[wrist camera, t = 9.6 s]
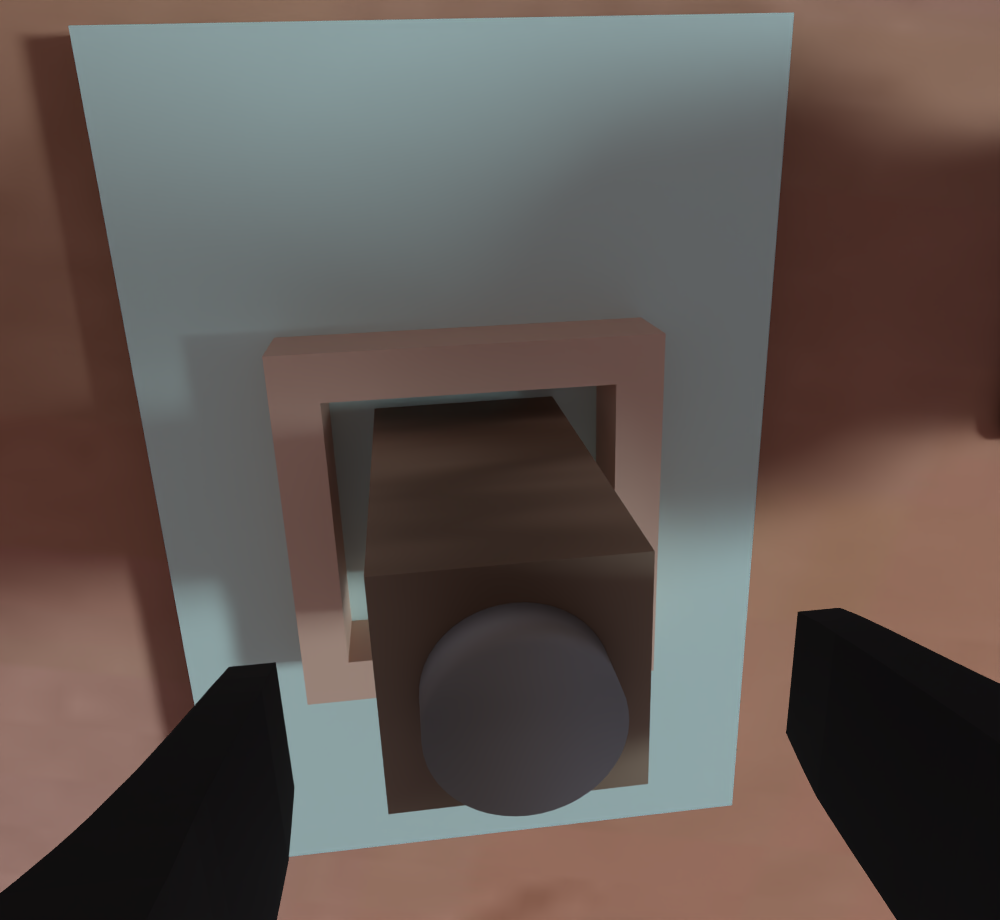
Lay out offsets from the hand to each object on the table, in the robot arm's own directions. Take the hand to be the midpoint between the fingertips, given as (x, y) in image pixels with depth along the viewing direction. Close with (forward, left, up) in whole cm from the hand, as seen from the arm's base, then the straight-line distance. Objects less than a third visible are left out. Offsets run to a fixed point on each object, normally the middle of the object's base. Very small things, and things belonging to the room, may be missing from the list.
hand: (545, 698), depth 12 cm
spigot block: (0, 0, -9) cm, 9 cm away
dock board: (0, +1, -10) cm, 10 cm away
